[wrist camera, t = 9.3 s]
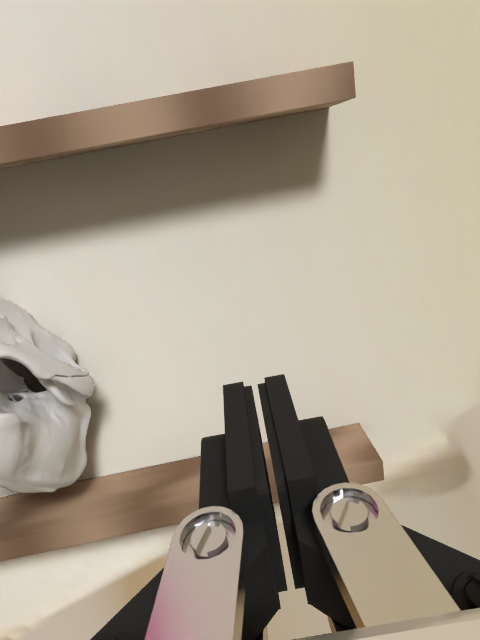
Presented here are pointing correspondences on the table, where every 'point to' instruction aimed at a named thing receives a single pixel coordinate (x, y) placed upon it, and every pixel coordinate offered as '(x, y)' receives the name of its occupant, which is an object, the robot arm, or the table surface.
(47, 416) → the skull
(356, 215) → the table surface
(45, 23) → the table surface
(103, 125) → the bay
